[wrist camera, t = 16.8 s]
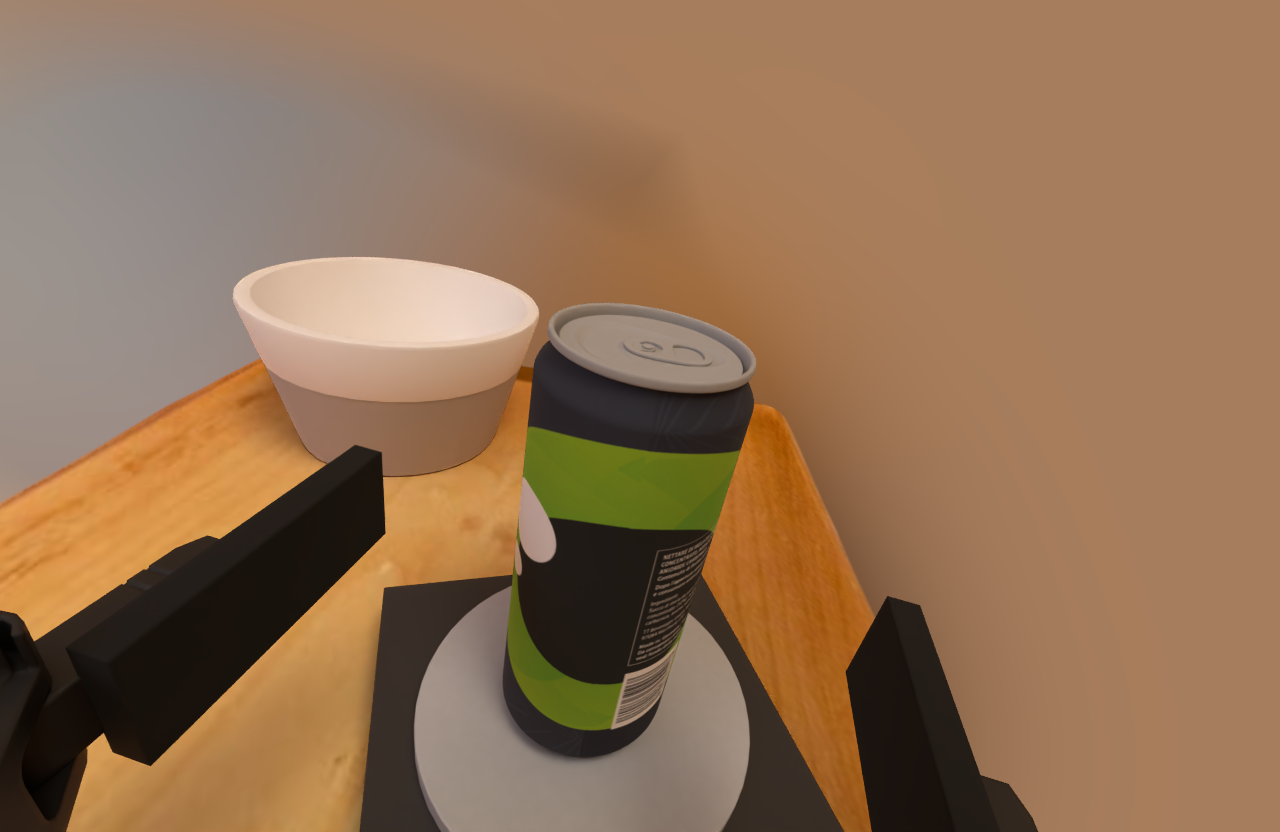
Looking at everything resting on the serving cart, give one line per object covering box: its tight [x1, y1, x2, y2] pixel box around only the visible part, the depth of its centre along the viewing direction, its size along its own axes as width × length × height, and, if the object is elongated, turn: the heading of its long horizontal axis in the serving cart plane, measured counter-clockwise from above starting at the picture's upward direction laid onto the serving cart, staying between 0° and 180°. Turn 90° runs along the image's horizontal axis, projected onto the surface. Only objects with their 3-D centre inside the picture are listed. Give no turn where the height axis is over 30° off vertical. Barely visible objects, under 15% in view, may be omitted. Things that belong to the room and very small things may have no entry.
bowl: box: [233, 257, 539, 476], centre depth 40 cm, size 19×19×11 cm
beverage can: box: [503, 303, 756, 757], centre depth 18 cm, size 6×6×15 cm
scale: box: [360, 574, 844, 832], centre depth 21 cm, size 16×18×4 cm
